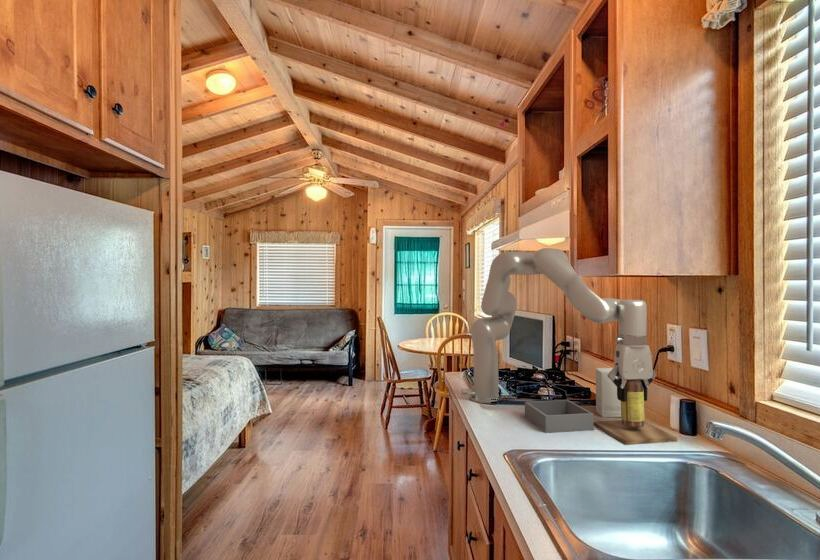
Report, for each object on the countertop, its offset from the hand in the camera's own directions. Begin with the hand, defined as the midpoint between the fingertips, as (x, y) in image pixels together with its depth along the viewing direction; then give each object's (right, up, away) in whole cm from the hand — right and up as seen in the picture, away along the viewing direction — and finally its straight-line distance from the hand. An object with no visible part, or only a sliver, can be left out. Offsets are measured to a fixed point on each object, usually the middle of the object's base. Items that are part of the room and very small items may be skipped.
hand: (632, 399), depth 128 cm
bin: (-19, -10, +9) cm, 24 cm away
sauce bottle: (0, -8, 0) cm, 8 cm away
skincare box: (+2, -10, +17) cm, 20 cm away
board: (0, -10, 0) cm, 10 cm away
